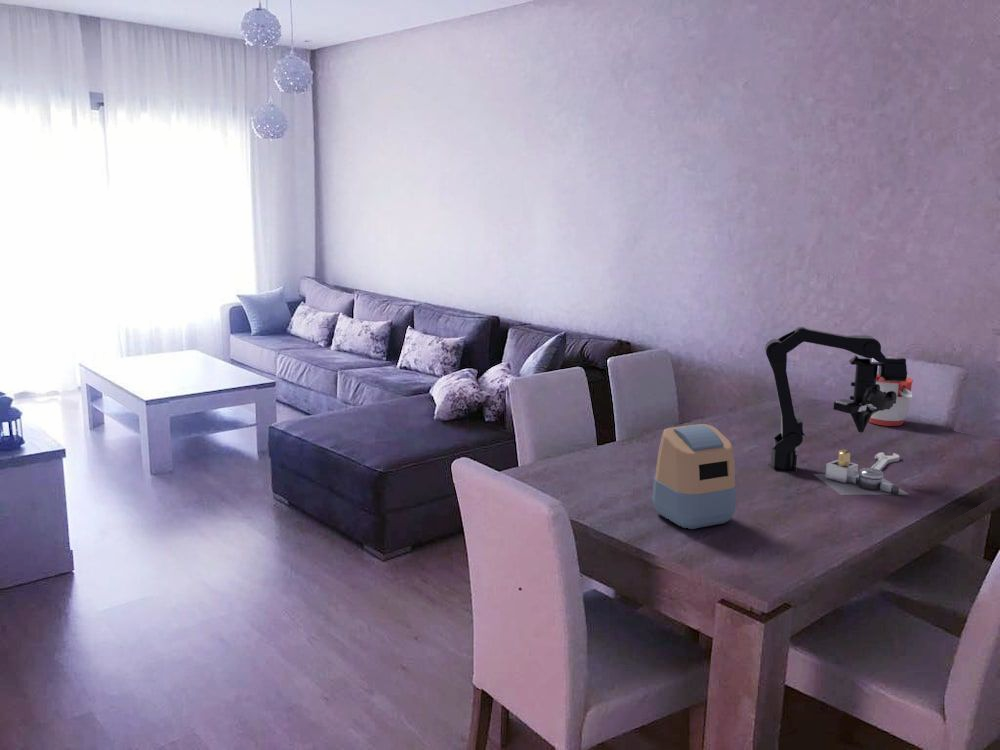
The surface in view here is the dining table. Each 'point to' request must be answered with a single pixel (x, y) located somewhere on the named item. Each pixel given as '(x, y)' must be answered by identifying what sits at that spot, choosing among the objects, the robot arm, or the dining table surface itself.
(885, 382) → the citrus juicer
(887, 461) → the adjustable wrench
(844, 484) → the mat
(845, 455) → the brass rounded cylinder
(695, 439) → the alarm clock
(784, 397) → the robot arm
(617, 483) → the dining table surface
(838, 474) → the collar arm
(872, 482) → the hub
